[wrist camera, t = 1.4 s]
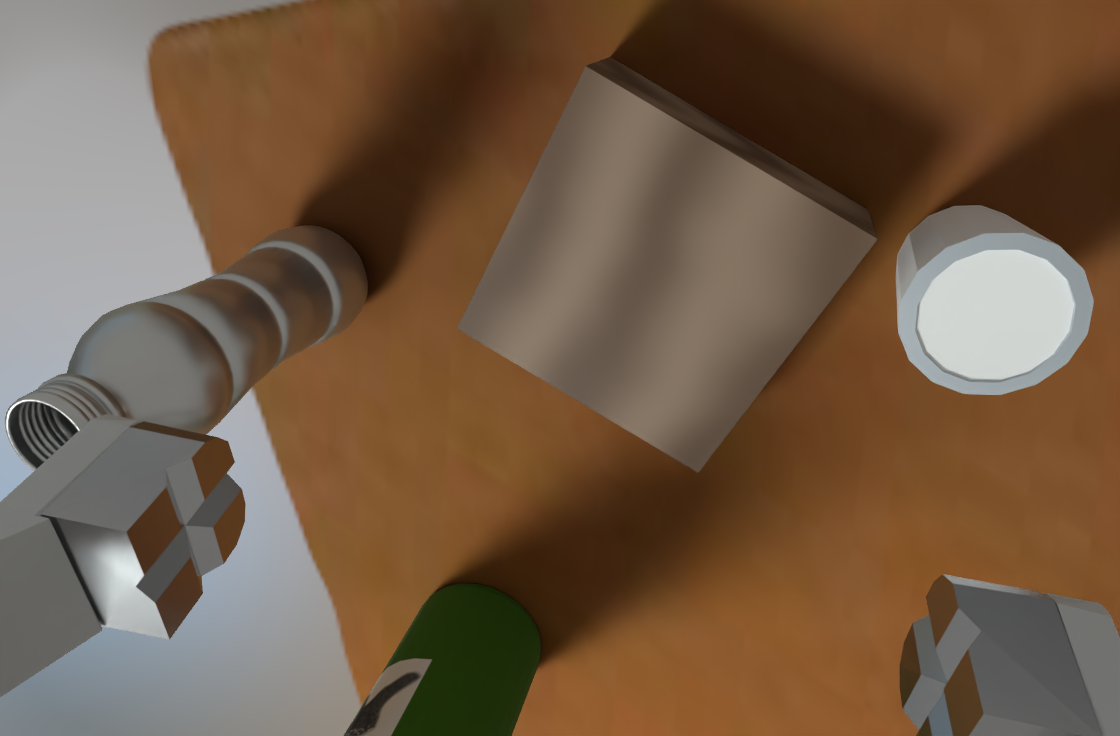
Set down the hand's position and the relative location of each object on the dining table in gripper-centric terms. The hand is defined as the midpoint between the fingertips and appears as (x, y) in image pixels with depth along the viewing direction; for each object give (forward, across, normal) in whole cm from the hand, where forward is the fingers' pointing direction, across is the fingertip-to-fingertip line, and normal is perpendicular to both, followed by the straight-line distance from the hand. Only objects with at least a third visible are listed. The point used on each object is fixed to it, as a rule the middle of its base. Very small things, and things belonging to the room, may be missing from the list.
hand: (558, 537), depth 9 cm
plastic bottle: (+31, -19, -16) cm, 40 cm away
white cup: (+30, +13, -10) cm, 35 cm away
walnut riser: (+30, 0, -12) cm, 33 cm away
